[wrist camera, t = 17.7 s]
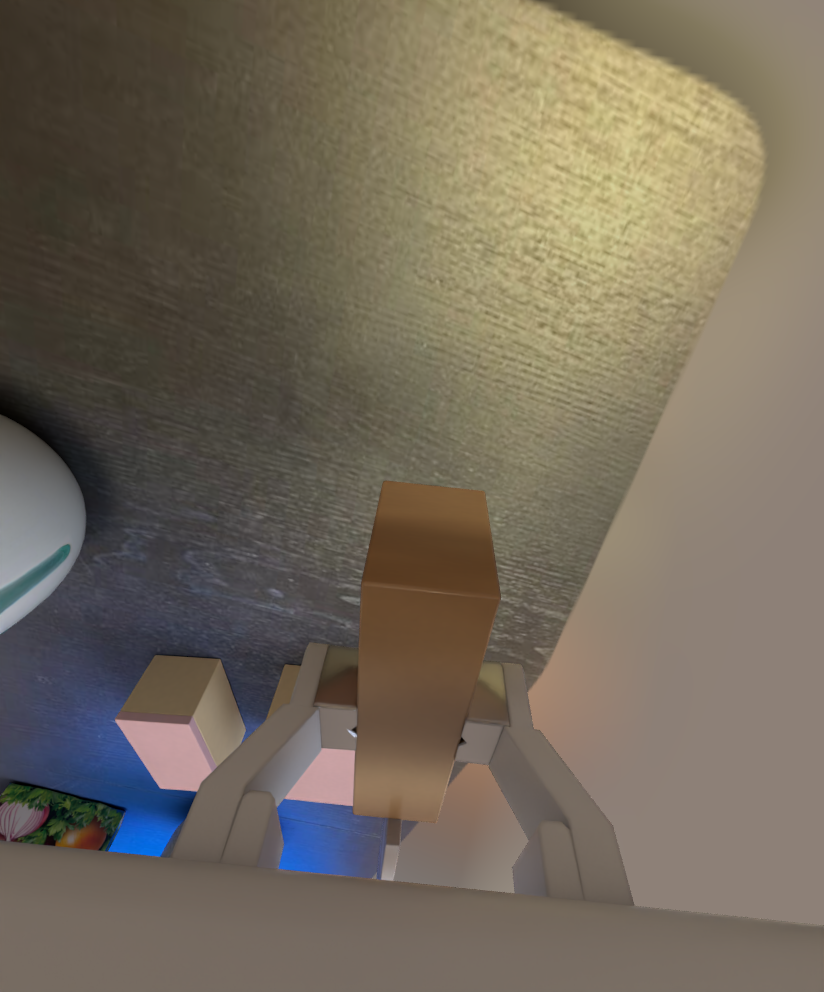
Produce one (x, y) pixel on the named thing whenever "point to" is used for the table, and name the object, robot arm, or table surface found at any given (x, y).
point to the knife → (419, 650)
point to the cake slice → (182, 720)
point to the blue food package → (56, 819)
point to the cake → (318, 759)
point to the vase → (34, 522)
